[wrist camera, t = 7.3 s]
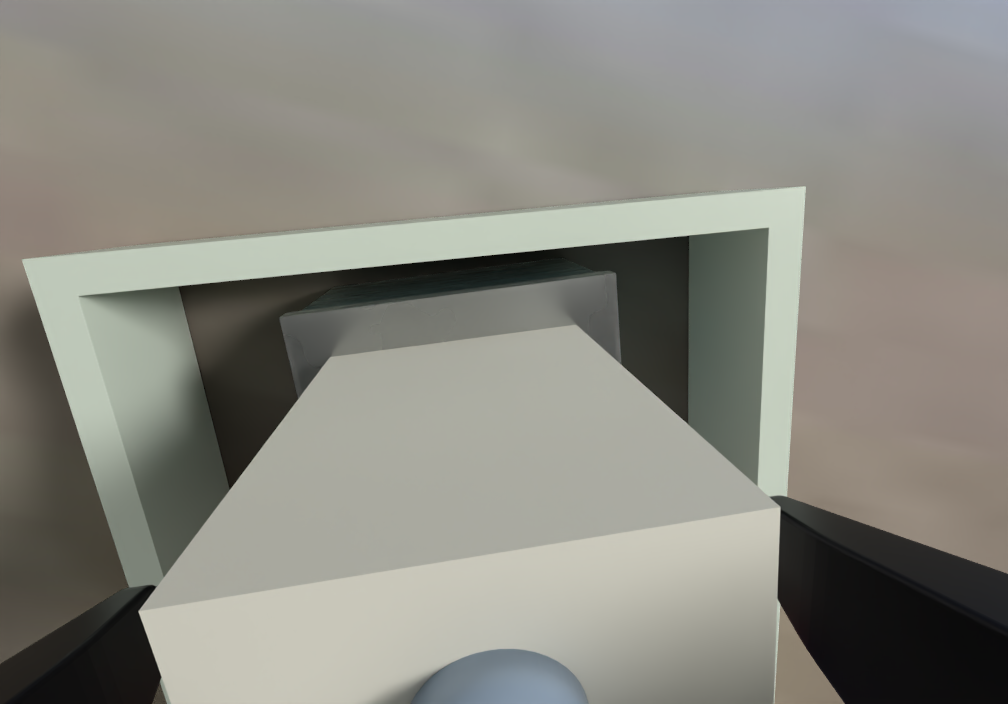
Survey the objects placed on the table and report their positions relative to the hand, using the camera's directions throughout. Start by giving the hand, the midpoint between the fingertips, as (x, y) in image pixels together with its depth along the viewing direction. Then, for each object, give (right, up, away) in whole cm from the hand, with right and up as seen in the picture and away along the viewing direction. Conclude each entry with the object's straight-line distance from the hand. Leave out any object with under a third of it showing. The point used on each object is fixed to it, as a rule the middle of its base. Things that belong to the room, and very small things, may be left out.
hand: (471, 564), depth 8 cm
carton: (0, +1, +3) cm, 4 cm away
